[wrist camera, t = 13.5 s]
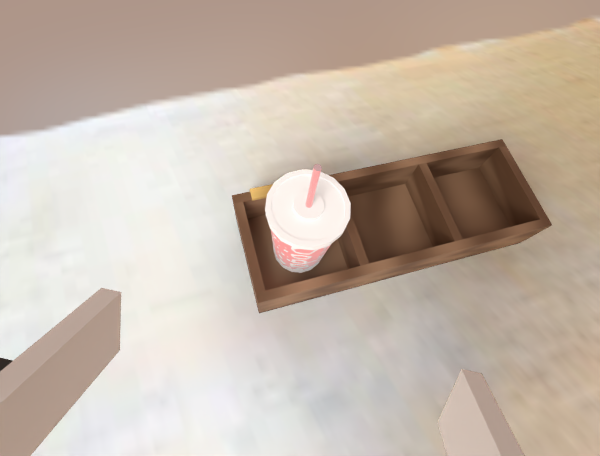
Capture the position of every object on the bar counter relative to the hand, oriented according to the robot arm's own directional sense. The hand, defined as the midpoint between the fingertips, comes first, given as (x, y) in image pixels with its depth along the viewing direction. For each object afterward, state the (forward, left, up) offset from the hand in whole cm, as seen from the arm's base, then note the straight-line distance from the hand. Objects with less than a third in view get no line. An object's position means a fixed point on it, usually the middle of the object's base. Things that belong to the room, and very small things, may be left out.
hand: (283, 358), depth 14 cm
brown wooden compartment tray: (-14, -10, -18) cm, 24 cm away
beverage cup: (-5, -10, -17) cm, 20 cm away
